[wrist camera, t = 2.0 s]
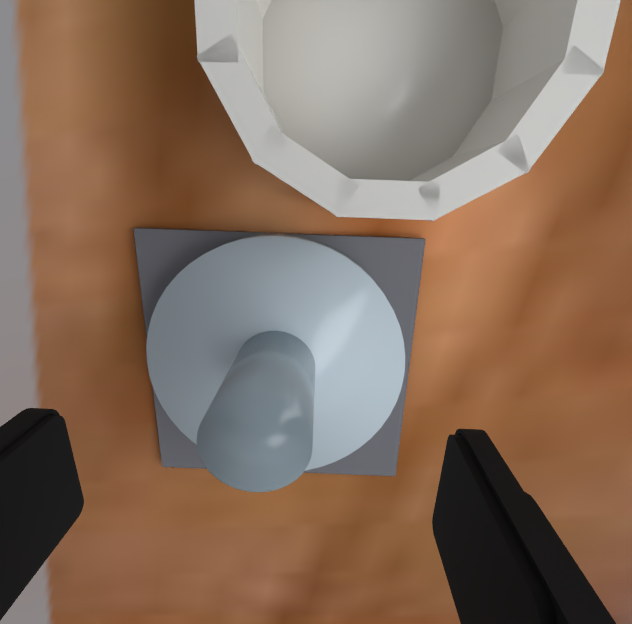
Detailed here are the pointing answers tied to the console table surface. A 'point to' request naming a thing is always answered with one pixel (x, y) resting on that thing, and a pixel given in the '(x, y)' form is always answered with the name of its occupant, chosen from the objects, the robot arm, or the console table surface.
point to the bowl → (400, 92)
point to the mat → (368, 251)
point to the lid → (275, 358)
